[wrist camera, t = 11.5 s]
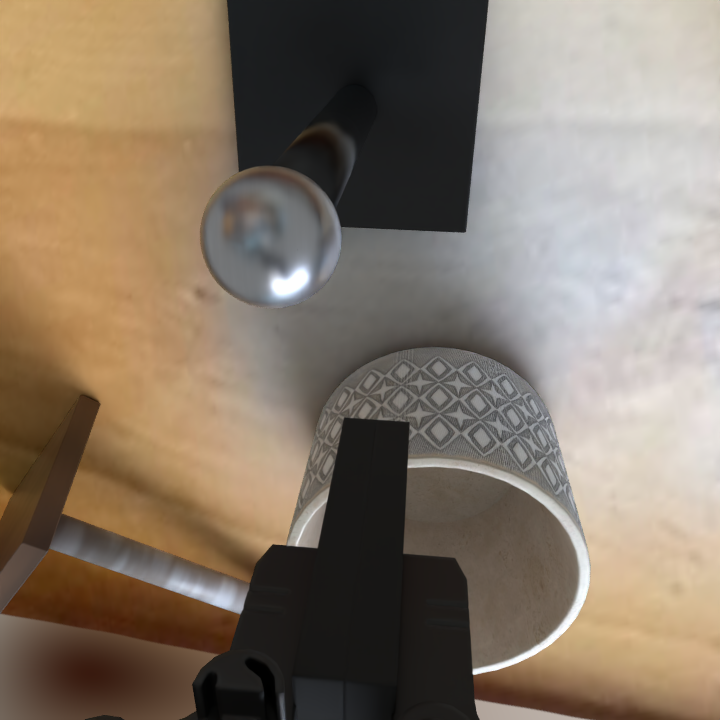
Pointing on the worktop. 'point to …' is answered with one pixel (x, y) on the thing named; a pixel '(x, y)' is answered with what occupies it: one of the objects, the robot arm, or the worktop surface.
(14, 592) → the paper towel stand
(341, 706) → the robot arm
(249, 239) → the black holder
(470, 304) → the worktop surface
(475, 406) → the planter
